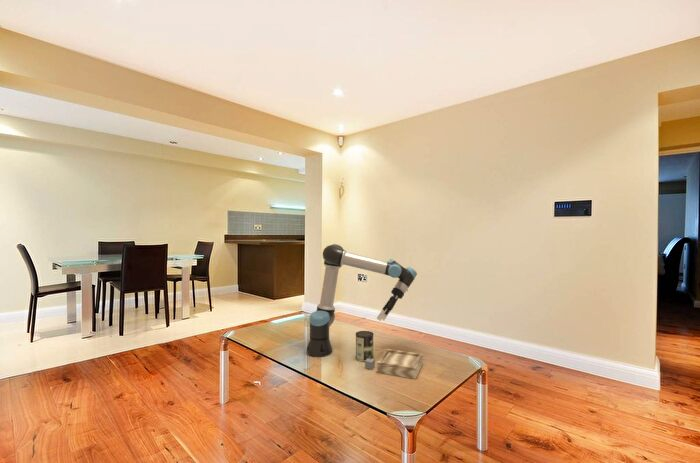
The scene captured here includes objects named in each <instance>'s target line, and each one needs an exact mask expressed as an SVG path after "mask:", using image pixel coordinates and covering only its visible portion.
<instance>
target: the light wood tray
mask: <svg viewBox="0 0 700 463" xmlns="http://www.w3.org/2000/svg"><path fill="white" fill-rule="evenodd" d="M422 365H423V353H420V352H419V353H418V352H412V351H404V350H398V349H392V348H386V350H385V351H384V352H383V354H381V356H380V357H379V358H378V360H377V361H376V373H380V374H386V375H391V376H394V377H403V378H408V379H414V380H416V379H417V377H418V375H419V372H420V371H421V369H422V367H423V366H422Z"/></svg>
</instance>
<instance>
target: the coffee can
mask: <svg viewBox="0 0 700 463" xmlns="http://www.w3.org/2000/svg"><path fill="white" fill-rule="evenodd" d="M367 358H369V359H374V332H373V331H369V330H358V331H356V332H355V360H357V361H359V362H365V361H366V360H367Z"/></svg>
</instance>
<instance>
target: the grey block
mask: <svg viewBox="0 0 700 463" xmlns="http://www.w3.org/2000/svg"><path fill="white" fill-rule="evenodd" d="M375 360H376V359H374V358H373V359H369V358H367V360H366V361H364V369H366V370H374V368H375V366H376V364H375Z"/></svg>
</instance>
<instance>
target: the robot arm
mask: <svg viewBox="0 0 700 463" xmlns="http://www.w3.org/2000/svg"><path fill="white" fill-rule="evenodd" d="M322 259H323V260H324V261H323V265H324V266H325V270H324V275H323V283H322V290H321V293H320V294H321V295H320V301H319V303H318V304H317V306H316V311H313V312H311V314H310V315H309V341H308V344H307V348H306V354H307V353H308V354H309V356H310V355H312V356H311V357H315V356H322V357H327V356H329V355H331V354H332V353H333V347H332V344H331V340H330V327H331V326H332V324H334V321H335V318H336V317H335V316H336V315H335V312H336V307H335V306H334V302H335V296H336V289H337V283H338V275H339V270H340V268H342V266H348V267H352V268H356V269H359V270H360V269H361V270H364V271H368V272H369V271H370V272H374V273H378V274H381V275H385V276H389V277H391V278H395V279H396V278H398V281H397V282H396V283H395V285H394V287H393V288H392V290H391V294H392V295H391V296H390V297H389V299H388V301H387V302H386V303H385V305H384V306H383V307H382V309H381V311H380V312H379V314H378V315H377V317H376V319H377V320H379V321H385V320H386V319H387V317H388V315H389V314H390V313H391V311H392V310H393V309H394V307H395V305H396V303H397V302H398V300H402V299H403V297H404V296H405V293H406V292H408V291H409V288H410V286H411V285H412V284H413V283H414V280H415V278H416V276H417V275H418V273H417V271H416V270H415V269H414V268H412V267H410V266H408V267H404V266H403V265H401V264H400V263H398V262H397V261H396V260H394V259H393V258H390V259H388V261H384V260H379V259H376V258H371V257H367V256H363V255H359V254H355V253H352V252H347V251H346V250H345V249H344V248H343V246H341V245H340V244H336V243H334V244H329V245H327V246H325V248H324V249H323V250H322ZM308 354H307V355H308ZM326 355H327V356H326Z"/></svg>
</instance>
